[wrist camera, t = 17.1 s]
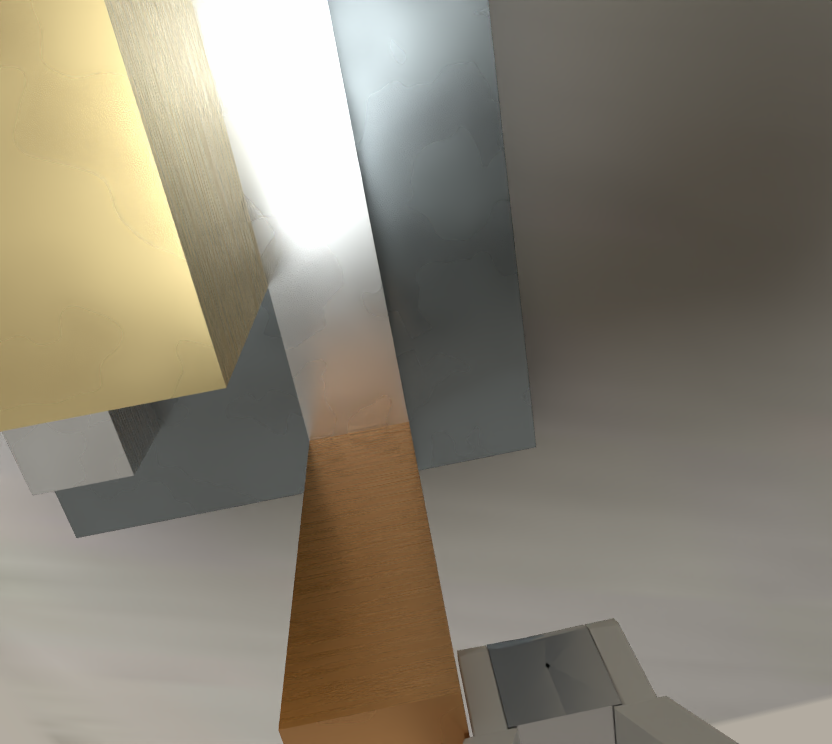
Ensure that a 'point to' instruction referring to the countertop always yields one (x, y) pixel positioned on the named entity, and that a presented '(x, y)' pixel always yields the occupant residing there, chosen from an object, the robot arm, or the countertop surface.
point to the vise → (402, 284)
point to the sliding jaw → (335, 393)
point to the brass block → (116, 212)
